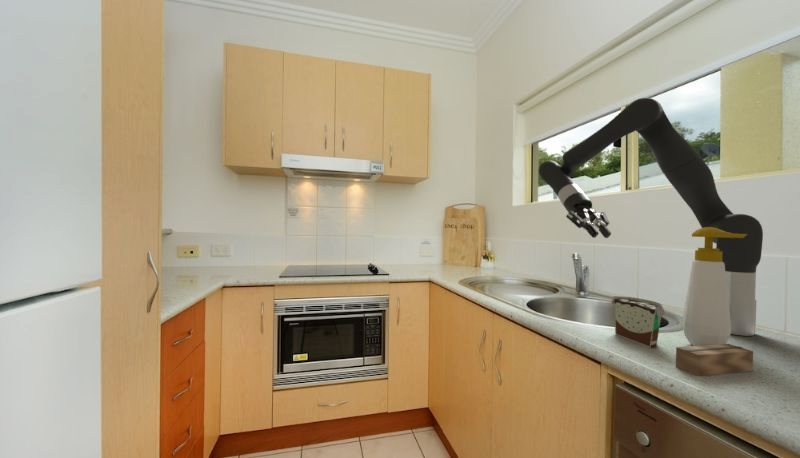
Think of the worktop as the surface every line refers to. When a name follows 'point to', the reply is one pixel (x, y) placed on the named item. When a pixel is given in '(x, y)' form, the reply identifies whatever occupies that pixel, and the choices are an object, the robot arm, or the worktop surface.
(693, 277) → the soap bottle
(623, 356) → the worktop surface
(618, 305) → the food container
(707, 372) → the timber batten
